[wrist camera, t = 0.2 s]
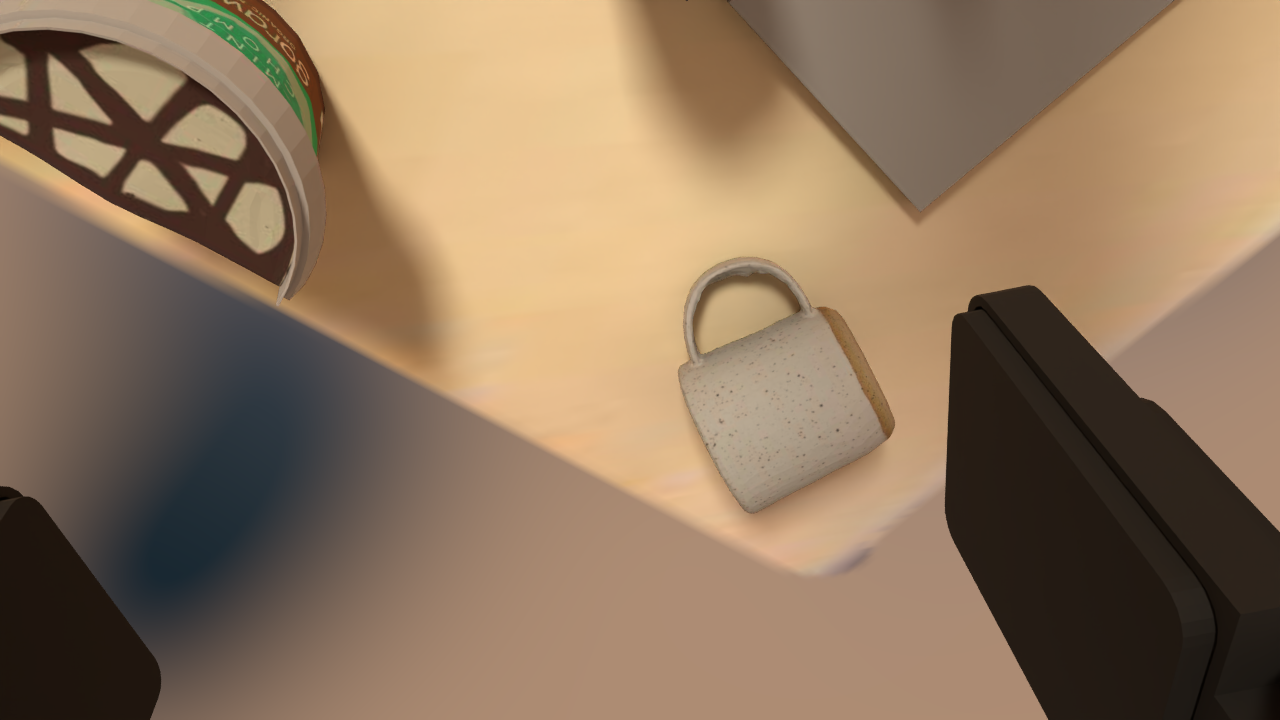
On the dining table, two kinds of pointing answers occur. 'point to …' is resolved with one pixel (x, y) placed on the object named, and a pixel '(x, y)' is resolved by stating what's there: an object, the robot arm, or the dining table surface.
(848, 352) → the ceramic mug
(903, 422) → the dining table surface
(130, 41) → the food container
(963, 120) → the rubber mat
